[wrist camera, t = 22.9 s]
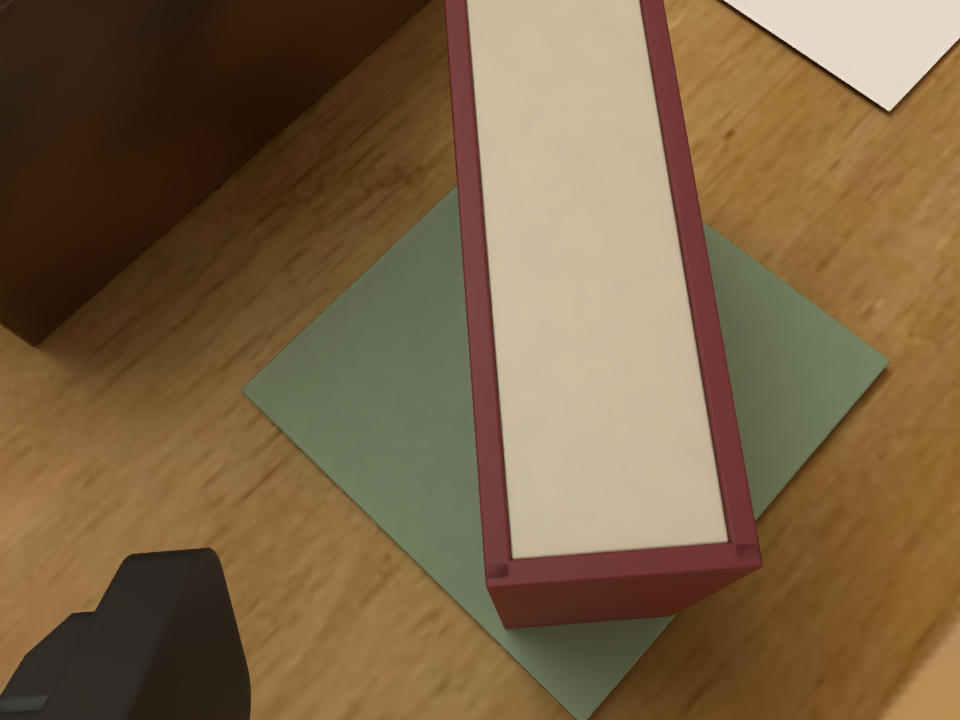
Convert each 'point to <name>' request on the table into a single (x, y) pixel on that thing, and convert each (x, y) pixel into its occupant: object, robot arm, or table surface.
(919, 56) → the white block
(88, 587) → the table surface
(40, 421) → the table surface
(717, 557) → the top book
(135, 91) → the riser
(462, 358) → the felt mat
